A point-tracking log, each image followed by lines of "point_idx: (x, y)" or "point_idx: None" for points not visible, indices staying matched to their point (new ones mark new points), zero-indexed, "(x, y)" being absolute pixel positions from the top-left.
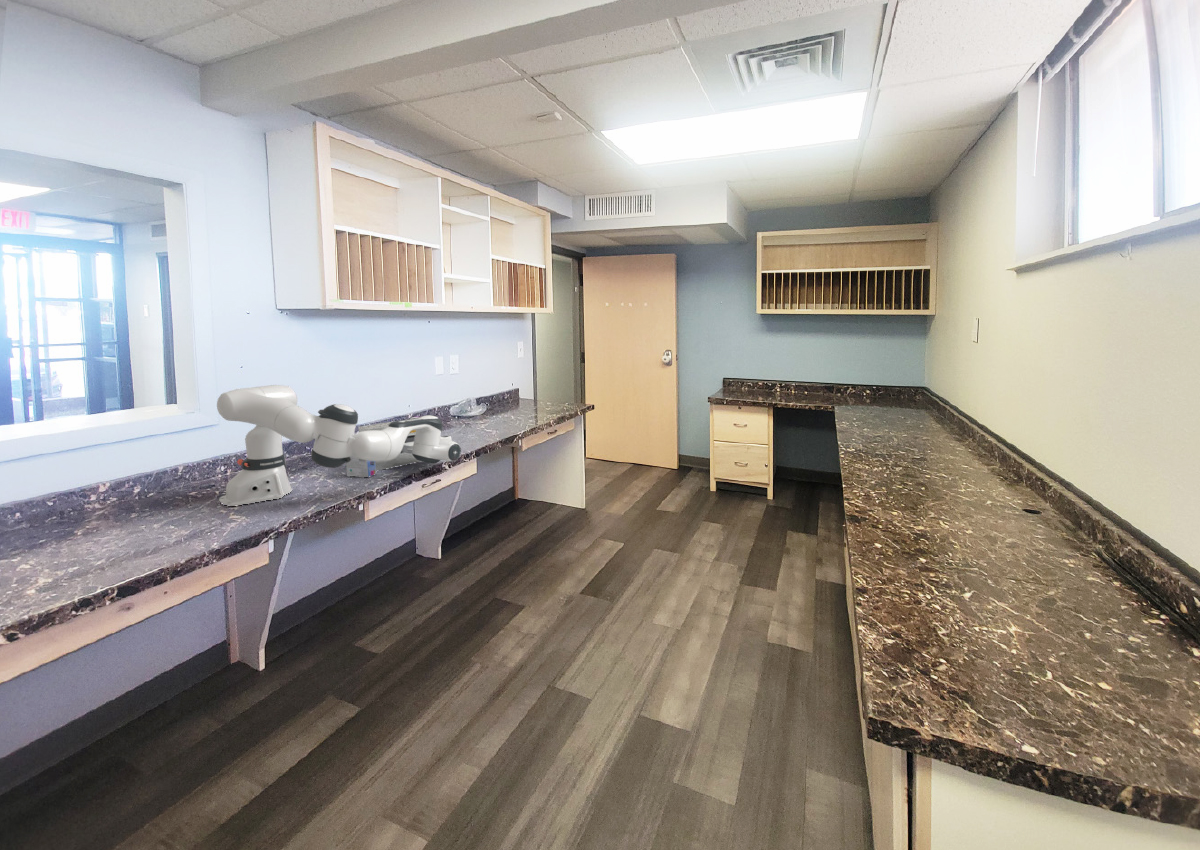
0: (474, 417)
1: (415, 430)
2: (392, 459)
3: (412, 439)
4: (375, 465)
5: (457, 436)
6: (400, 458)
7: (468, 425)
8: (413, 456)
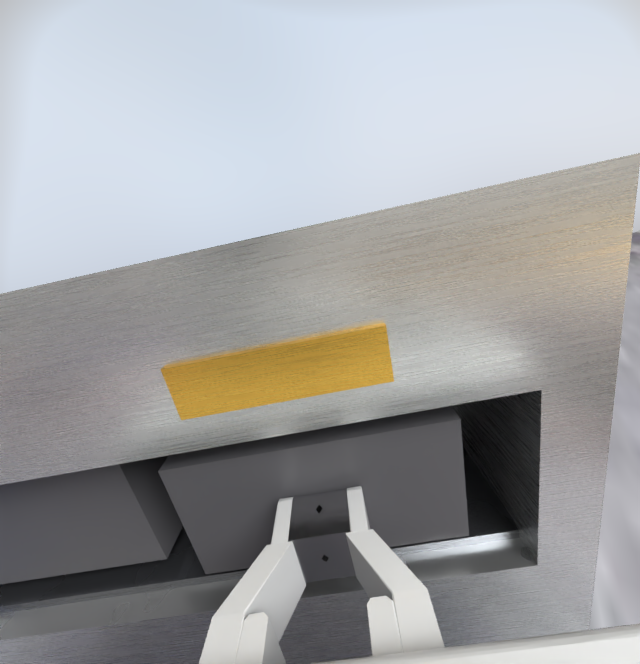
0: (633, 238)
1: (259, 383)
2: (60, 661)
3: (258, 479)
4: None
5: (627, 302)
6: (145, 656)
7: (636, 258)
8: (293, 641)
